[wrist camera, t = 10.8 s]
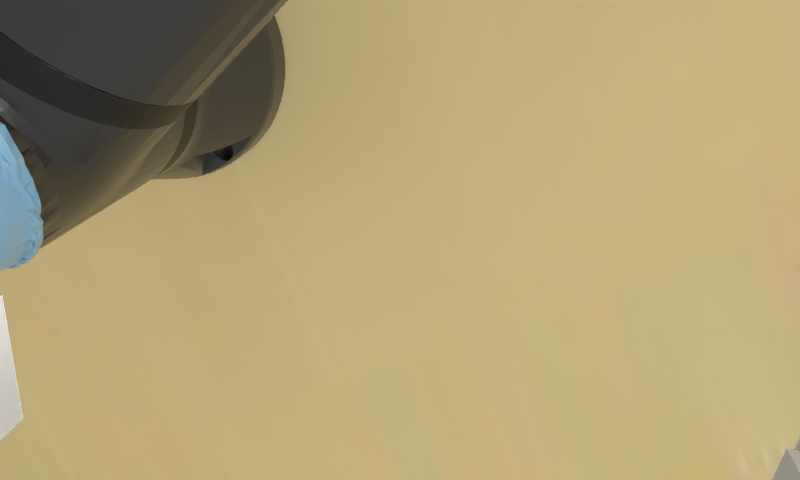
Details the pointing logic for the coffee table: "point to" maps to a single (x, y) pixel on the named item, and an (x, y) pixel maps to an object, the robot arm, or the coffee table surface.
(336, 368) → the coffee table surface
